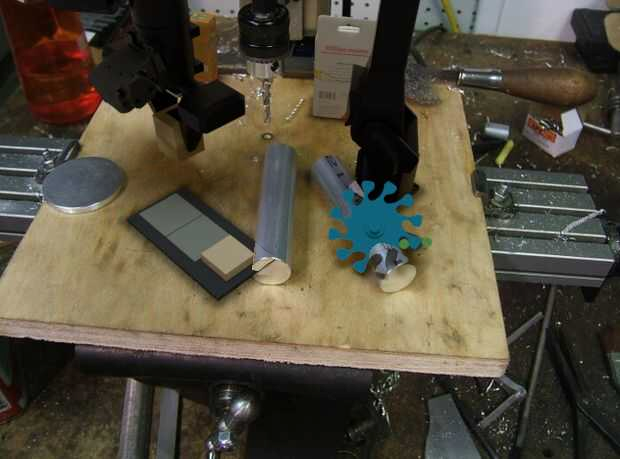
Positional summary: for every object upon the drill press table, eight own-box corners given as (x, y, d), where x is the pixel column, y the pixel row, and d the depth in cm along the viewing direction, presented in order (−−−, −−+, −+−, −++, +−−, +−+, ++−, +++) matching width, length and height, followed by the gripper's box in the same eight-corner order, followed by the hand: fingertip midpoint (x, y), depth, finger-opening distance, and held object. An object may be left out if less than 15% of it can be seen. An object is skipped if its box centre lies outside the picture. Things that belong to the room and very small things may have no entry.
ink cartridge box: (372, 104, 83) (386, 5, 72) (371, 122, 79) (384, 22, 69) (315, 98, 83) (320, -1, 73) (311, 116, 80) (315, 15, 69)
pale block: (205, 150, 69) (201, 115, 65) (178, 164, 66) (172, 129, 63) (184, 136, 70) (179, 101, 67) (158, 149, 68) (151, 114, 65)
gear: (312, 254, 59) (347, 165, 58) (318, 252, 65) (350, 171, 64) (412, 294, 57) (448, 203, 57) (409, 288, 63) (441, 205, 63)
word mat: (275, 259, 60) (275, 249, 59) (217, 300, 56) (216, 290, 55) (184, 188, 68) (182, 178, 67) (127, 220, 64) (124, 210, 62)
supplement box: (213, 87, 84) (207, 23, 77) (191, 83, 85) (183, 19, 78) (220, 76, 87) (215, 13, 80) (199, 72, 87) (192, 9, 80)
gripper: (40, 10, 57) (79, 136, 68) (148, 80, 48) (172, 212, 59) (134, -19, 63) (156, 102, 74) (245, 39, 54) (251, 166, 65)
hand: (180, 142), depth 68 cm, fingers closed on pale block, 4 cm apart
